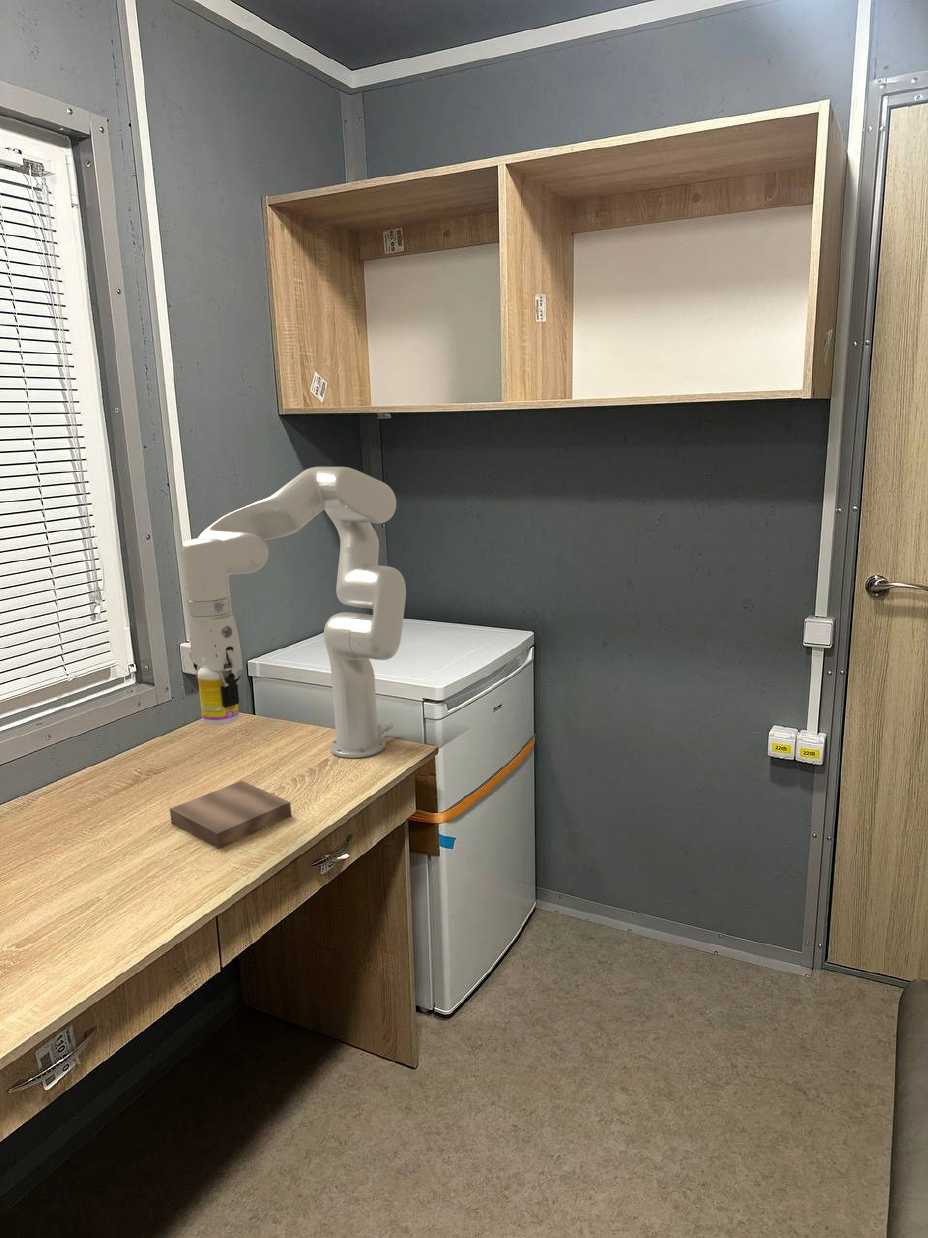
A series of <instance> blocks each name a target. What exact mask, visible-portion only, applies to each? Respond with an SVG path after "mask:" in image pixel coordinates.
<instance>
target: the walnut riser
mask: <svg viewBox="0 0 928 1238" xmlns="http://www.w3.org/2000/svg"><path fill="white" fill-rule="evenodd" d="M291 806H292V805H291V801H289V800H286V799H284V798H281V796H278V795H275V794H273V793H270V792H268V791H266V790H263V789H262V788H259V787H257V786H255V785H252V784H250V783H248V782H246V781H243V780H240V781H238V782H235V783H232V784H230V785H228V786H224V787H222V788H219V789H217V790H214V791H211V792H210V793H207V794H204V795H202V796H199V797H197V798H194V799H192V800H189V801H186V802H184V803H181V804H179V805H175V806H173V807H171V808H169V813H170V821H171V824H172V825H174V826H176V827H178V828H179V829H182V830H183V831H185V832H187V833H188V834H190V835H192V836H194V837H196V838H197V839H200V840H201V841H204V842H205V843H208V844H209V845H211V846H213V847H214V848H217V849H218V850H220V849H222V848H224V847H226V846H228V845H231V844H233V843H235V842H238V841H240V840H243V839H245V838H247V837H248V836H249V837H250V836H251V835H253V834H255V832H256V833H258V832H260V831H262V830H264V829H263V828H265V829H267V828H268V827H267V826H269V827H271V826H273V825H276V824H278V823H280V822H282V820H283V821H285V820H287V819H289V818H291V817H292V807H291ZM284 819H285V820H284ZM275 823H276V824H275ZM266 827H267V828H266ZM261 829H262V830H261ZM259 830H260V831H259ZM257 831H258V832H257ZM244 837H245V838H244Z"/></svg>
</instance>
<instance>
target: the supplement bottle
mask: <svg viewBox="0 0 928 1238" xmlns="http://www.w3.org/2000/svg"><path fill="white" fill-rule="evenodd" d="M202 661H203V663H204V664H207V661H206V659H205V658H204V657H202ZM225 668H229V666H228V665H226V666H224V669H225ZM229 674H230V671H229V672H225V675H226V678H227V677H228V675H229ZM197 680H198V682H197V683H198V689H199V690H198V692H199V700H200V701H199V702H200V710H201V719H202V722H203V723H205V724H207V725H211V726H222V725H223V726H224V725H227V724H232V722H235V721H236V720H238V718H239V716H240V710H239V709H240V708H239V704H237V705H233V706H230V707H227V708H224V707H223V706H222V696H221V686H223V685H222V682H221V679H220V676H219V673H218V672H217V671H214V670H211V669H209V668H208V667H207V666H206V665H204V667H201V668H200V669H199V671H198V678H197Z"/></svg>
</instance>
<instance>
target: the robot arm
mask: <svg viewBox="0 0 928 1238" xmlns="http://www.w3.org/2000/svg"><path fill="white" fill-rule="evenodd" d="M396 509H397V499H396V495H395V493H394V491H393V489H392V488H391V487H390V486H389V485H388V484H386V482H383V481H382V480H379V479H377V478H374V477H373V476H370V475H368V474H367V473H363V472H362V471H359V470H357V469H354V468H351V467H348V466H347V467H346V466H313V467H309V468H307V469H305V470H303V471H302V472H300V473H299V474H298V475H297V476H295V477H294V478H293V479H291V480H290V481H288V482H287V483H286V484H284V485H283V486H282V487H281V488H280V489H279V490H277V491H276V492H274V493H273V494H272V495H270V496H269V497H267V498H264V499H262V500H258V501H256V502H253V503H252V504H249V505H246V506H244V507H242V508H239V509H236V510H234V511H232V512H229V513H227V514H226V515H223V516H222V517H220V518H219V519H217V520H216V521H215V522H213V523H212V524H211V525H210V526H208V527H207V528H206V529H204V530H203V532H201V533H200V535H199V536H198V537H197V538H192V539H188V540H186V541H184V543H183V544H182V546H181V556H182V565H183V566H182V567H183V573H184V575H183V576H184V584H185V593H186V600H187V601H186V602H187V609H188V610H187V611H188V618H189V642H190V653H189V658H190V660H191V662H192V664H193V665H192V666H193V668H194V670H195V672H196V673H195V677H196V678H197V679H198V671H199V669H200V668H201V667H204V665H206V666H207V667H208V668H209V669H211V670H214V671H217V672H218V673H219V676H220V679H221V682H222V685H223V686H221V696H222V706H223V707H224V708H227V707H230V706H233V705H237V704H238V705H239V703H240V697H239V696H240V695H239V687H238V686H239V685H238V684H239V683H240V678H241V676H242V673H243V671H244V667H243V657H242V656H243V655H242V650H241V644H240V637H239V633H238V628H237V627H238V626H237V623H236V620H235V617H234V614H233V609H232V597H231V591H230V578H229V577H230V576H231V575H247V574H252V573H255V572H257V571H259V570H260V569H262V568H263V567H264V566H265V565H266V563H267V561H268V558H269V546H268V545H267V542H266V541H267V540H274V539H279V538H284V537H287V536H289V535H293V534H295V533H298V532H299V531H300V530H301V529H302V528H303V527H305V525H307V524H309V522H311V521H312V520H313V519H314V518H315V517H316V516H318V515H319V514H321V513H322V512H323V511H325V513H326V514H327V516H328V517H329V519H330V520H331V521H332V523H333V524H334V526H335V529H336V530H337V532H338V536H339V540H340V542H339V543H340V548H339V558H338V569H337V578H336V589H335V591H336V596H337V599H338V601H339V602H340V603H342V604H343V605H345V606H350V607H354V608H364V609H372V611H373V613H372V614H367V613H360V612H357V613H356V612H346V611H345V612H339V613H336V614H334V615H332V616H330V617H329V618H328V620H327V621H326V623H325V624H324V625H325V626H324V629H323V639H324V645H325V648H326V651H327V652H326V653H327V654H328V659H329V663H330V671H331V673H330V674H331V682H332V683H331V685H332V698H333V712H334V725H335V739H334V740H332V741H331V742H330V744H329V750H330V752H331V753H332V754H333V755H334V756H337V757H340V758H347V759H349V758H350V759H352V758H353V759H356V758H365V757H371V756H373V755H376V754H379V753H381V752H382V751H383V750H384V749H385V747H386V740H385V738H384V737H383V735H384V734H385V733H387V732H389V731H391V730H393V729H394V724H393V723H392V722H391V721H387V722H384V723H383V724H381V722H380V721H378V713H377V712H378V711H377V697H376V696H377V695H376V694H377V693H376V677H375V672H374V671H375V670H374V667H373V665H372V663H371V660H377V661H387V660H390V659H392V658H393V657H394V656H395V655H396V653H397V652H398V650H399V649H400V645H401V640H402V633H403V632H402V631H403V625H404V617H405V607H406V598H407V588H406V581H405V578H404V576H403V574H402V573H401V572H400V570H398V569H397V568H395V567H393V566H387V565H379V552H380V551H379V549H380V541H379V538H378V535H377V532H376V530H375V529H374V527H373V525H372V524H383V523H385V522H388V521H389V520H390V519H391V518H392V517H393V516H394V514H395V512H396ZM202 657H204V658H205V659H206V661H207V664H204V663H203V661H202ZM226 665H228V666H229V668H225V669H224V666H226ZM229 671H230V674H229V675H228V677H227V678H226V675H225V672H229Z"/></svg>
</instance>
